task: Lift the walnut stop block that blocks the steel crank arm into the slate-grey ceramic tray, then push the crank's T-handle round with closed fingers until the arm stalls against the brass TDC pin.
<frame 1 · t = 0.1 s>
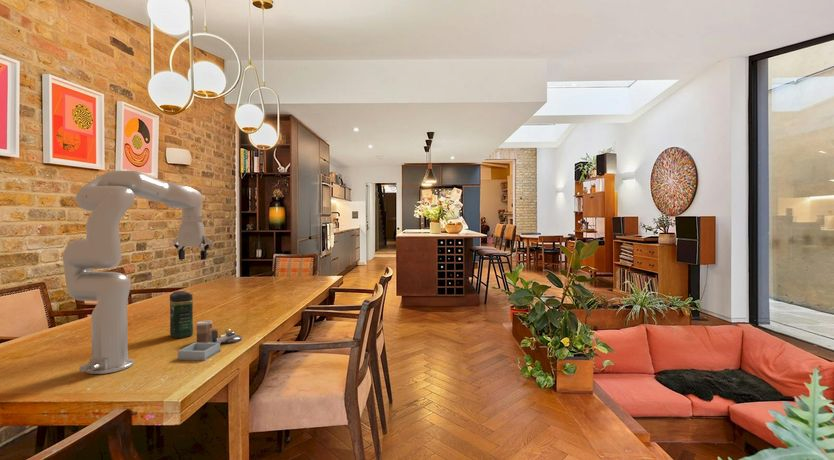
hand: (192, 259, 180), 31 cm above the table, fingers open, 9 cm apart
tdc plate: (227, 336, 172), on the table
tray: (199, 355, 149), on the table
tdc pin: (227, 336, 172), resting on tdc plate
hub: (230, 340, 167), on the table
coffee jar: (181, 335, 173), on the table
crank: (223, 332, 162), point 4 cm above the table, hinge at 170.0°
stop block: (204, 341, 165), on the table
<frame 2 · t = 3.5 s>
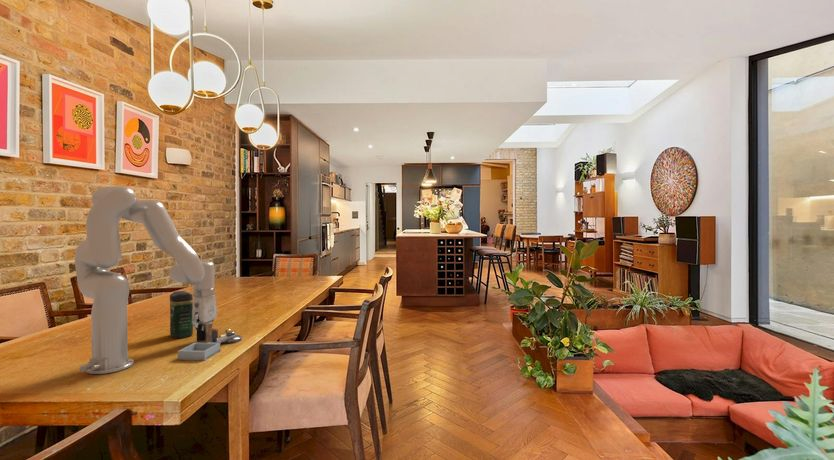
hand: (204, 337, 165), 2 cm above the table, fingers closed on stop block, 4 cm apart
stop block: (204, 341, 165), on the table, touching gripper
everything else where it was.
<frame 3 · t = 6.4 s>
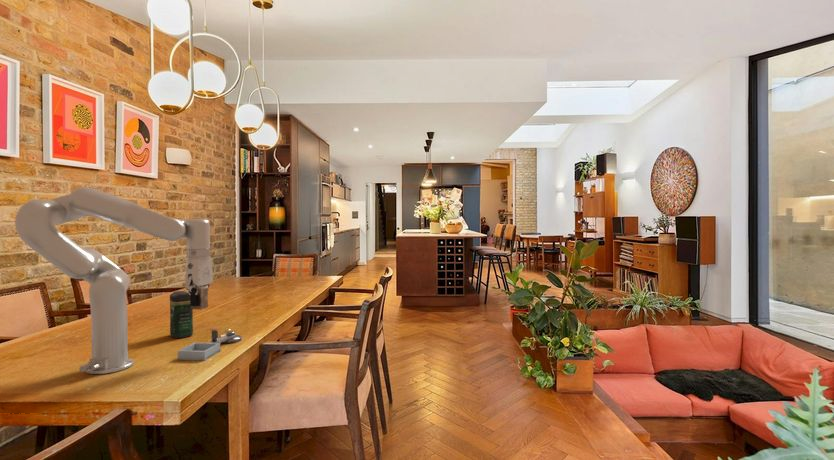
hand: (199, 303, 148), 19 cm above the table, fingers closed on stop block, 4 cm apart
stop block: (199, 308, 148), point 17 cm above the table, touching gripper
everything else where it was.
when the fingers open (4 cm above the table, at t = 9.3 s): stop block drops 1 cm, resting on tray.
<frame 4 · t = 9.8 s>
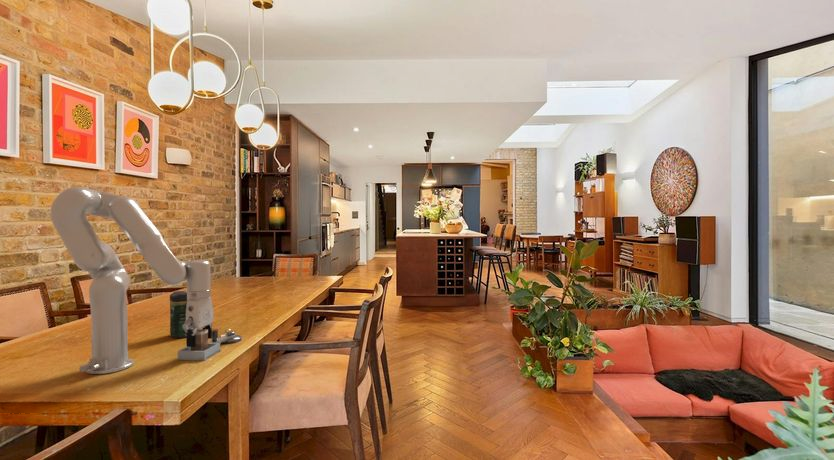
hand: (199, 342, 149), 5 cm above the table, fingers open, 9 cm apart
stop block: (199, 353, 149), point 1 cm above the table, touching tray
everything else where it was.
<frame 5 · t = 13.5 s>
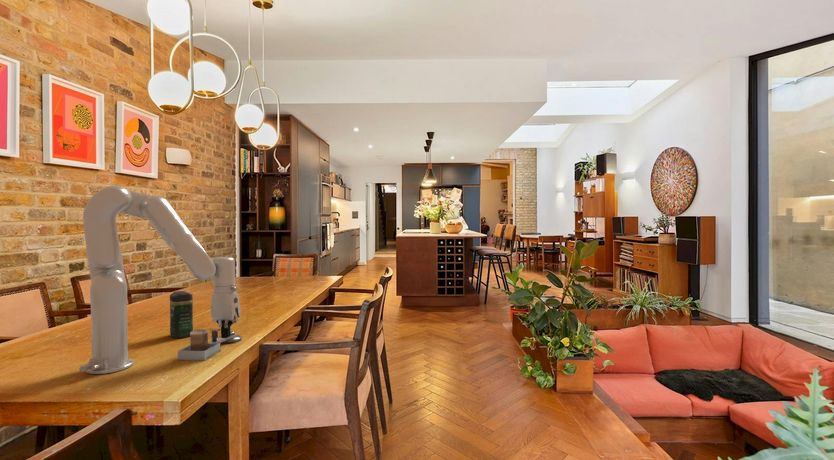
hand: (225, 337, 157), 4 cm above the table, fingers closed
crank: (223, 332, 162), point 4 cm above the table, hinge at 170.0°, touching gripper
everything else where it was.
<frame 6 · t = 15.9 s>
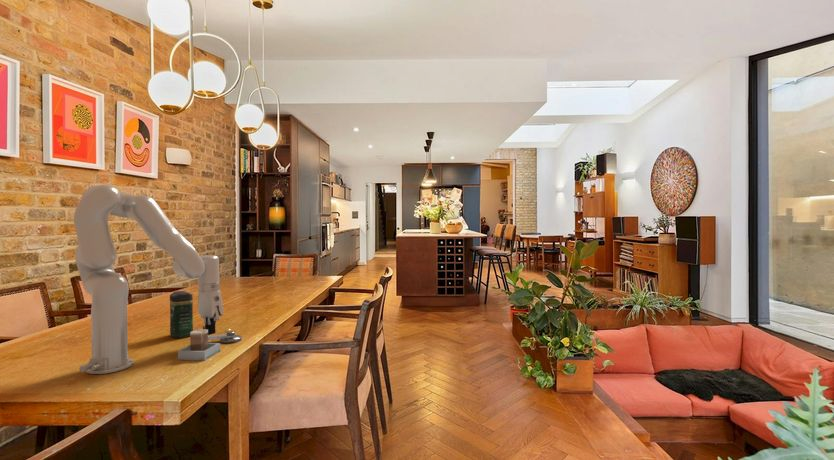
hand: (210, 333, 161), 4 cm above the table, fingers closed
crank: (219, 330, 165), point 4 cm above the table, hinge at 112.4°, touching gripper
everything else where it was.
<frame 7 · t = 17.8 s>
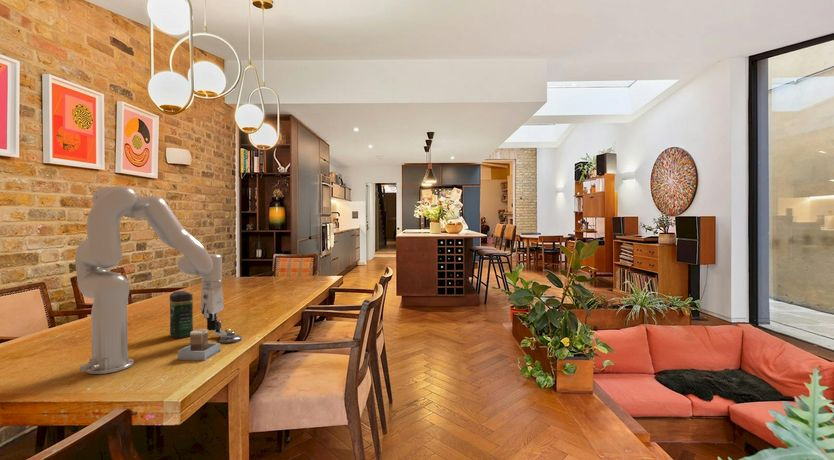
hand: (212, 329, 167), 4 cm above the table, fingers closed
crank: (224, 328, 169), point 4 cm above the table, hinge at 59.8°, touching gripper, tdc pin
everything else where it was.
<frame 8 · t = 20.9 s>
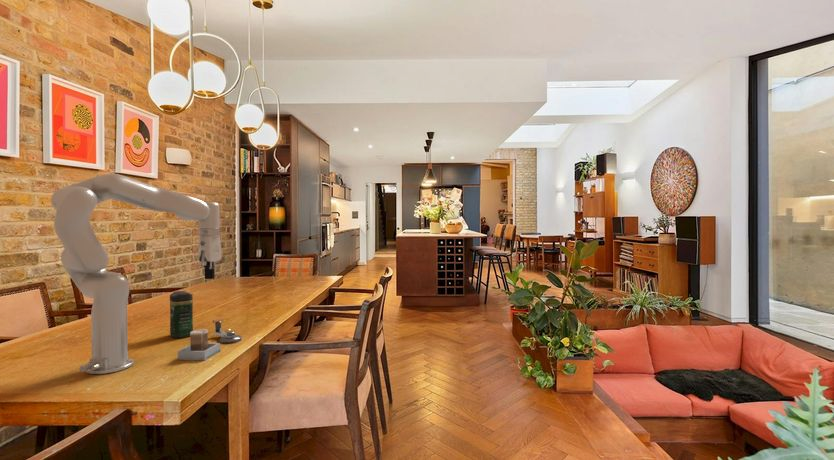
hand: (209, 278, 165), 25 cm above the table, fingers closed
crank: (224, 328, 169), point 4 cm above the table, hinge at 59.9°
everything else where it was.
at the end: stop block inside the target area on the tray (0.1 cm from its centre), point 0.8 cm above the tray's base; crank at +60° (first picture: +170°); the gripper is holding nothing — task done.
